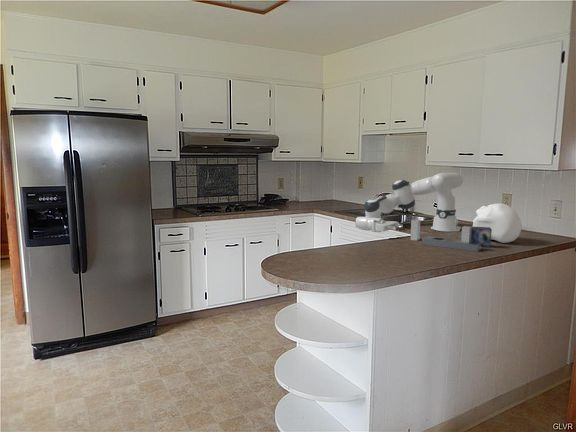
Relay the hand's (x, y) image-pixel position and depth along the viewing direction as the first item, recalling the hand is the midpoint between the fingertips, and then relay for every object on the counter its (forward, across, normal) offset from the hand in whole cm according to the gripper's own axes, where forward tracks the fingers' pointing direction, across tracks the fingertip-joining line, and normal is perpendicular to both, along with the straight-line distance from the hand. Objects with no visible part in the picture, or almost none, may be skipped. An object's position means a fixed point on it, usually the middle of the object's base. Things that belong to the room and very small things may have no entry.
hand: (399, 227), depth 255 cm
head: (+48, -28, -7) cm, 56 cm away
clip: (+10, 0, -6) cm, 12 cm away
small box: (+45, -6, -7) cm, 46 cm away
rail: (+33, +6, -6) cm, 34 cm away
